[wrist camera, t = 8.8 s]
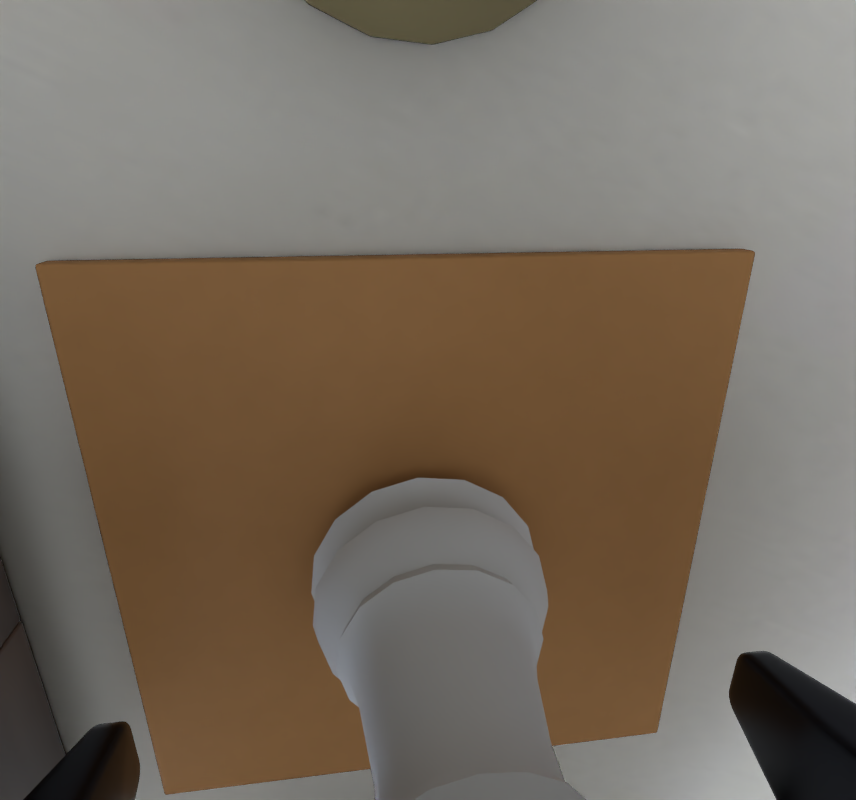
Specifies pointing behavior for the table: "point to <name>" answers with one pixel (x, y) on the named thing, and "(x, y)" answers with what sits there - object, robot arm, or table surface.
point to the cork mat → (387, 465)
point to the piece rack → (22, 708)
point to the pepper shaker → (422, 17)
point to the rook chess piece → (440, 642)
